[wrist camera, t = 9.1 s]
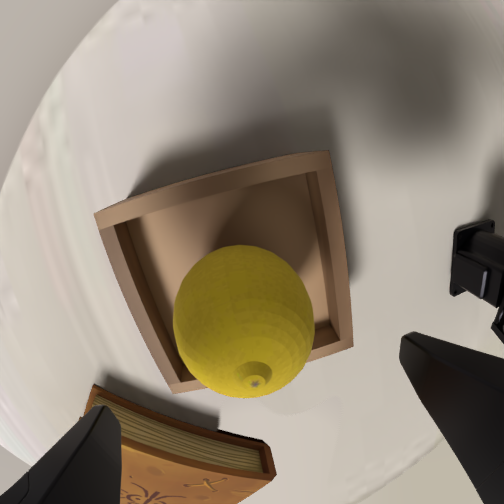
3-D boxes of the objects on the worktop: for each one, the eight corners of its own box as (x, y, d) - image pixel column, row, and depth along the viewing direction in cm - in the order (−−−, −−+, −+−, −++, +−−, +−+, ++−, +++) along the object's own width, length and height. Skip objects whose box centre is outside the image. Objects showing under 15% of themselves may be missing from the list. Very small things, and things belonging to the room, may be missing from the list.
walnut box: (294, 153, 18) (328, 150, 12) (321, 302, 21) (353, 346, 16) (128, 197, 17) (93, 213, 12) (180, 340, 21) (173, 394, 15)
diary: (187, 504, 30) (188, 532, 25) (71, 465, 25) (63, 495, 20) (269, 440, 26) (278, 483, 20) (95, 380, 21) (76, 426, 15)
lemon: (256, 335, 17) (282, 446, 9) (168, 297, 15) (136, 407, 8) (306, 255, 15) (379, 340, 8) (213, 206, 14) (206, 264, 6)
